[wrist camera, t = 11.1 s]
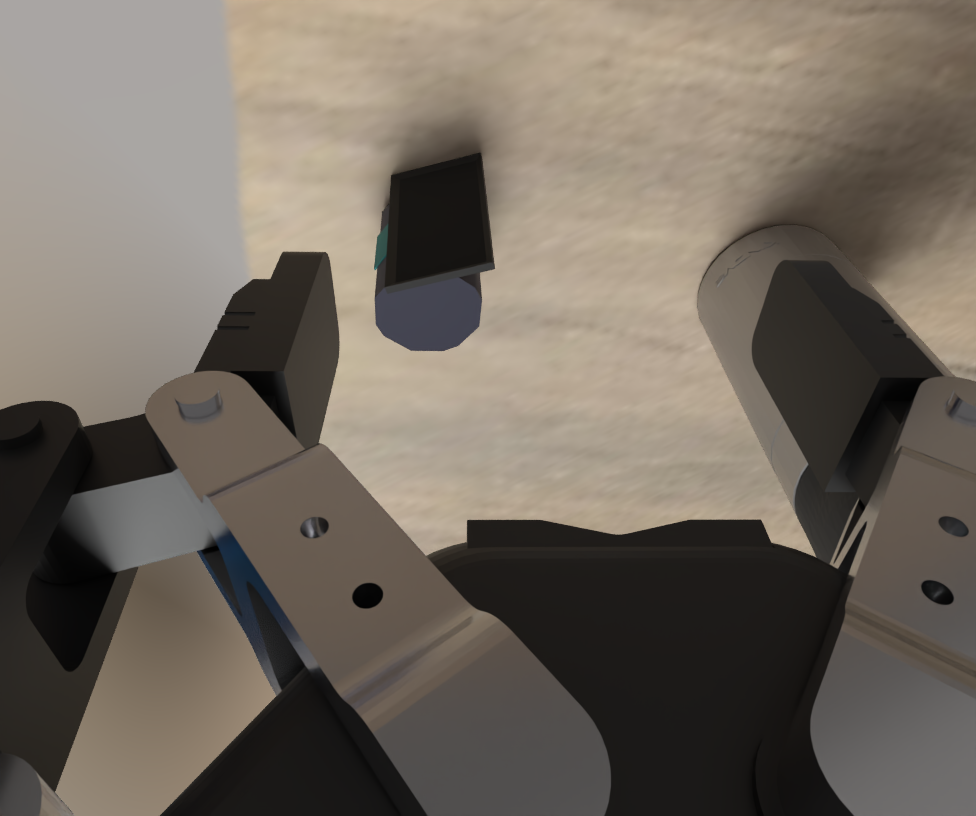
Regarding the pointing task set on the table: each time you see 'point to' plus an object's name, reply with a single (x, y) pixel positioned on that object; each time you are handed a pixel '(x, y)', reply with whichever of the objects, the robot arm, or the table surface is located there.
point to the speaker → (433, 255)
